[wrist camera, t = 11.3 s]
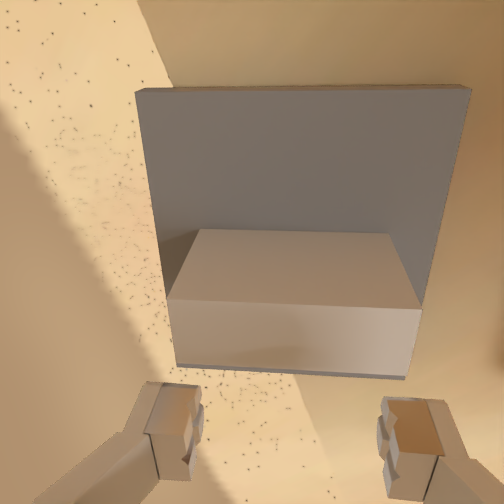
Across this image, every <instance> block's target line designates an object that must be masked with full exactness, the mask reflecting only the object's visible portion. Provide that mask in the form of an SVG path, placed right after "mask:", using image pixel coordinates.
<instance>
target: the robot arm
mask: <svg viewBox="0 0 504 504" xmlns="http://www.w3.org/2000/svg"><path fill="white" fill-rule="evenodd" d="M201 397H202V392H201V386H198V385H187V384H176V383H165V382H164V383H162V382H149V381H147V382H146V383H145V384H144V385H143V386H142V389H141V391H140V393H139V396H138V398H137V400H136V402H135V405H134V407H133V409H132V412H131V414H130V416H129V419H128V421H127V423H126V425H125V428H124V430H123V432H117V433H116V434H114V435H113V436H112V437H111V438H109V439H108V440H107V441H106V442H104V443H103V444H102V445H101V446H99V447H98V448H97V449H96V450H95V451H93V452H92V453H91V454H90V455H88V456H87V457H86V458H85V459H84V460H82V461H81V462H80V463H79V464H77V465H76V466H75V467H74V468H72V469H71V470H70V471H69V472H68V473H66V474H65V475H64V476H63V477H61V478H60V479H59V480H58V481H56V482H55V483H54V484H53V485H51V486H50V487H49V488H48V489H46V490H45V491H44V492H43V493H41V494H40V495H39V496H38V497H37V498H35V500H34V502H33V503H32V504H140V503H141V502H142V501H143V500H144V499H145V498H146V496H147V495H148V494H149V493H150V492H151V491H152V489H153V488H154V487H155V486H156V485H157V484H158V482H159V480H177V481H191V479H192V475H193V471H194V467H195V462H196V458H197V455H196V447H195V446H196V445H197V444H198V443H199V442H200V441H201V436H202V432H203V424H204V408H203V405H202V404H201V403H200V401H201ZM381 410H382V415H381V416H380V417H379V418H378V423H377V444H378V450H379V455H380V456H381V458H382V459H383V460H384V461H385V463H384V468H383V476H384V481H385V486H386V491H387V496H388V498H391V499H399V500H408V501H417V502H424V503H423V504H504V485H503V484H502V483H501V482H500V481H499V480H498V479H497V478H496V477H495V476H494V475H493V474H491V473H490V472H489V471H488V470H487V469H486V468H485V467H484V466H483V465H482V464H481V463H479V462H478V461H477V460H476V459H470V458H469V456H468V454H467V451H466V449H465V446H464V444H463V441H462V439H461V436H460V434H459V432H458V429H457V427H456V424H455V422H454V419H453V417H452V414H451V412H450V410H449V407H448V405H447V403H446V402H445V401H444V400H436V399H422V398H404V397H383V399H382V402H381Z"/></svg>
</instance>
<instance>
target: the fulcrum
mask: <svg viewBox="0 0 504 504" xmlns="http://www.w3.org/2000/svg"><path fill="white" fill-rule="evenodd" d="M471 91H472V89H470V88H468V87H465V86H462V85H381V86H281V87H182V88H144V89H141V90H139V91H136V92H135V98H136V105H137V111H138V118H139V124H140V131H141V137H142V144H143V150H144V157H145V163H146V170H147V176H148V183H149V189H150V196H151V202H152V209H153V215H154V222H155V228H156V235H157V241H158V248H159V254H160V261H161V267H162V274H163V280H164V287H165V293H166V300H167V306H168V313H169V319H170V326H171V332H172V339H173V345H174V352H175V358H176V365H177V367H183V368H200V369H218V370H235V371H253V372H270V373H287V374H305V375H322V376H340V377H357V378H375V379H392V380H405V376H407V375H408V370H409V366H410V362H411V358H412V353H413V349H414V345H415V341H416V336H417V332H418V328H419V323H420V319H421V315H422V311H423V309H422V303H423V298H424V294H425V290H426V285H427V281H428V277H429V272H430V268H431V264H432V259H433V255H434V251H435V246H436V242H437V238H438V234H439V229H440V225H441V221H442V216H443V212H444V208H445V203H446V199H447V195H448V190H449V186H450V182H451V177H452V173H453V169H454V164H455V160H456V156H457V151H458V147H459V143H460V139H461V134H462V130H463V126H464V121H465V117H466V113H467V108H468V104H469V100H470V95H471Z"/></svg>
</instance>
